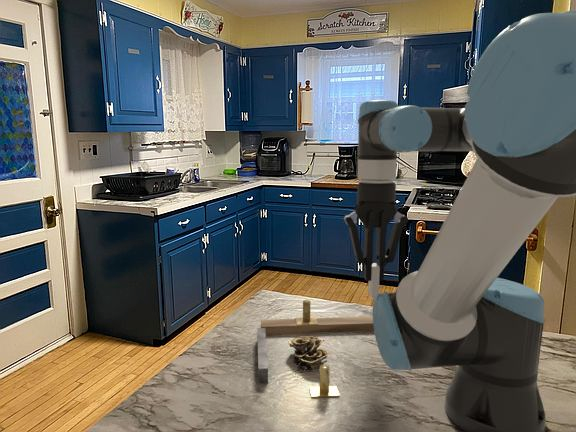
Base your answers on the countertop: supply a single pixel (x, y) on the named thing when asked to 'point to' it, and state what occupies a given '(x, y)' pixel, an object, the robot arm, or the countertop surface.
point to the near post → (324, 385)
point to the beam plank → (316, 324)
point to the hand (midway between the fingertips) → (373, 295)
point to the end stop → (262, 356)
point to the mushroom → (308, 353)
